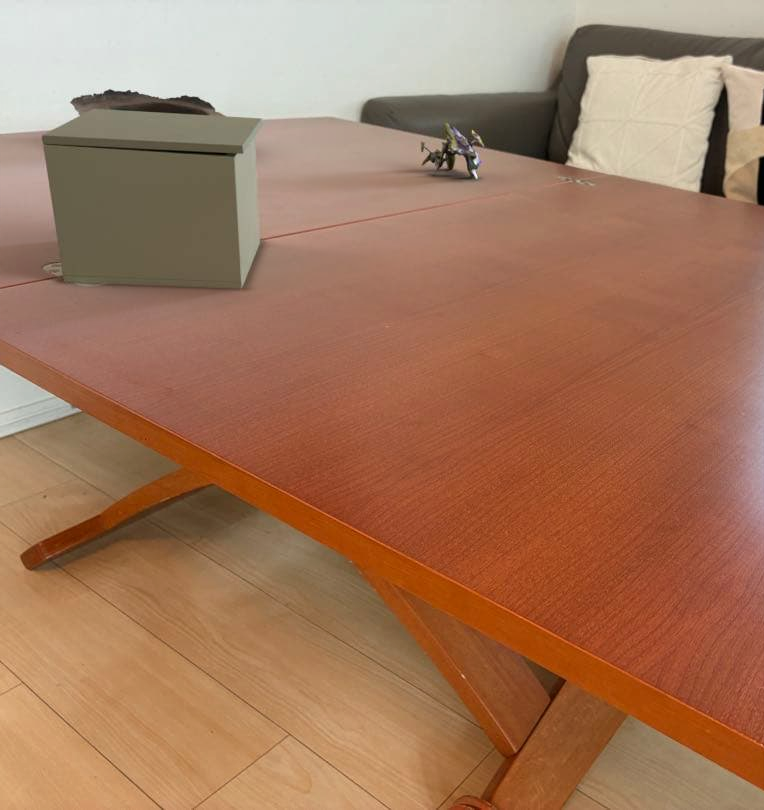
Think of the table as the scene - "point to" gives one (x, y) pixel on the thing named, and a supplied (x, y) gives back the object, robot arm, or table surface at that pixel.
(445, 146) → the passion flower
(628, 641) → the table surface
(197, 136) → the chest lid
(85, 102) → the stone bowl
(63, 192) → the chest
